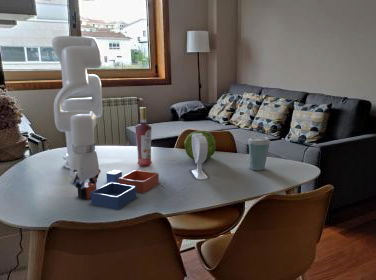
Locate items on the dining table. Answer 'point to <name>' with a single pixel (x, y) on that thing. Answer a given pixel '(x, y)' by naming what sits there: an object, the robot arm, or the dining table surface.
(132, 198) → the blue bin
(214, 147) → the lettuce
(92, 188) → the rust block
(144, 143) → the liquor
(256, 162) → the disposable coffee cup
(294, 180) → the dining table surface
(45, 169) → the dining table surface
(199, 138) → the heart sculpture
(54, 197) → the dining table surface
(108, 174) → the blue block
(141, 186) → the rust bin
